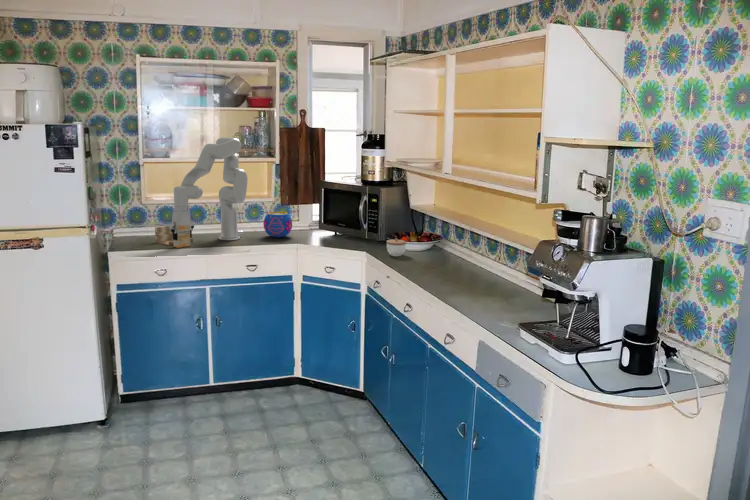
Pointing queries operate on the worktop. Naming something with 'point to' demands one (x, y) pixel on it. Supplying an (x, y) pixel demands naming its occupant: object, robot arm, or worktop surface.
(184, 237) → the supplement box
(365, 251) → the worktop surface
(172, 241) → the patterned wooden bookend
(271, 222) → the ceramic pot
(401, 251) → the lidded jar
